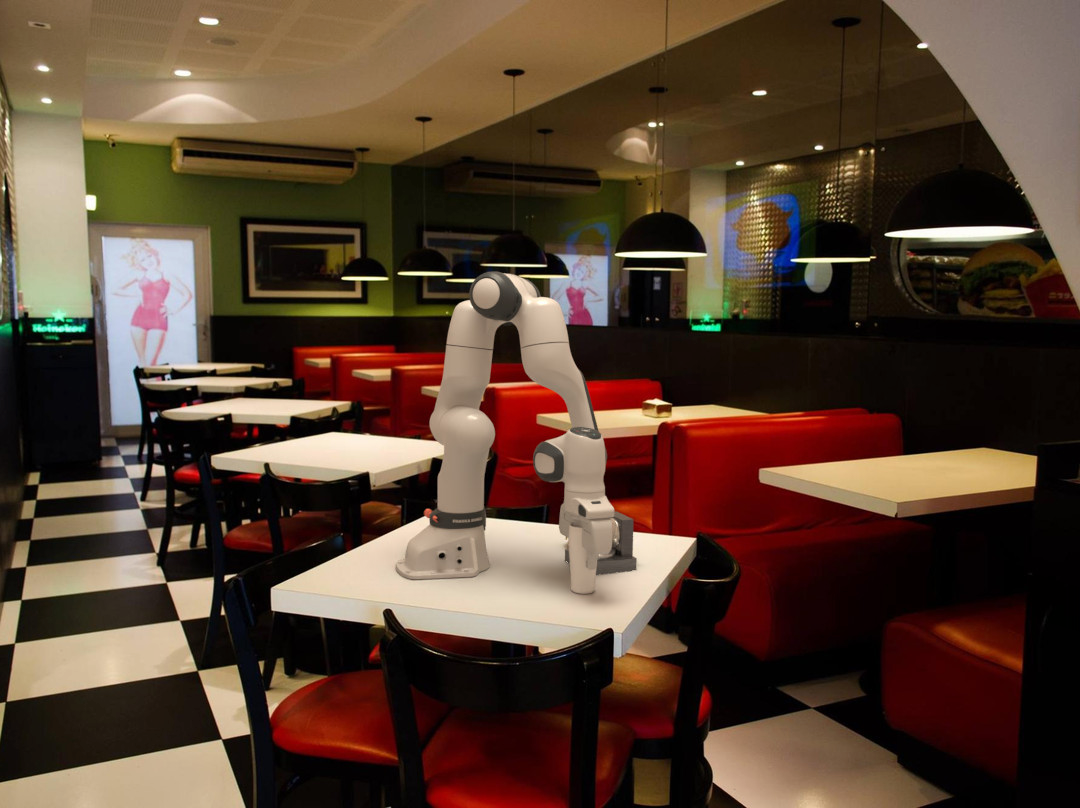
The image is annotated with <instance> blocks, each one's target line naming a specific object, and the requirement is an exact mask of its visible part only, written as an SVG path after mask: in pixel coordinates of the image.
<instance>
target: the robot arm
mask: <svg viewBox="0 0 1080 808" xmlns="http://www.w3.org/2000/svg"><path fill="white" fill-rule="evenodd" d="M468 294H469V295H468V296H469V299H467V300H464V301H461V302H459V303H458V304H457V305H456V306H455V308H454V310H453V312H452V316H451V320H450V323H449V327H448V331H447V337H446V345H445V353H444V354H445V355H444V363H443V371H442V372H443V373H442V380H441V383H440V387H439V390H438V394H437V398H436V400H435V401H436V402H435V406H434V408H433V409H434V410H433V412H432V413H431V415H430V418H429V429H430V432H431V434H432V436H433V438H434V439H435V441H437V442H438V444H440V445H441V446H443V457H442V463H441V467H440V471H439V472H438V475H437V508H435V509H433V510H432V509H431V508H426V509H425V510H424V511H423V515H424V517H426V518H427V519H429V524H428V525H427V526H426V527H425V528H423V529H422V530H421V531H420V532H418V534H416V535H415V536H414V537H412V538H411V539H410V540H409V541H408V543H407V545H406V550H405V554H404V559H403V558H402V559H399V560H397V561H396V563H395V570H396V572H397V573H398V574H399V576H401V577H403V578H406V579H409V580H429V579H431V580H432V579H447V578H448V579H451V578H473V577H476V576H478V575H479V573H481V572H483V571H485V570H488V569H490V567H491V561H490V559H489V554H488V549H487V545H486V535H485V531H486V526H487V514H486V508H485V505H484V504H485V473H486V468H487V464H488V458H489V451H490V448H491V447H492V445H493V444H494V441H495V437H496V430H495V427H494V423H493V422H492V421H491V419H490V418H489V416H488V415H486V414H485V412H483V411H481V410H480V406H481V404H482V403H481V402H482V399H483V396H484V393H485V391H486V389H487V387H488V386H489V384H490V379H491V371H492V370H491V369H492V361H493V360H492V359H493V351H494V342H495V335H496V331H497V329H498V328H499V327H501V325H502V326H503V327H509V326H513V325H514V326H515V327H516V329H517V331H518V335H519V336H518V337H519V345H520V354H521V362H522V365H523V366H522V367H523V369H524V372H525V374H526V375H527V376H528V378H529V379H531V381H533V382H535V383H536V384H538V385H540V386H541V387H544V388H547V389H549V390H551V391H553V392H554V393H556V394H557V395H559V396H560V397H561V398H562V399H563V400H564V403H565V405H566V408H567V409H566V410H567V412H568V416H569V420H570V424H571V428H569V429H568V430H567V431H566V433H564V434H563V435H560V436H558V437H554V438H551V439H547V440H545V441H541V442H540V443H539V444H538V445H536V448H535V449H534V452H533V457H532V463H533V464H532V465H533V469H534V471H535V473H536V475H537V476H538V477H539V478H540V479H541V480H542V481H544V482H549V483H558V482H563V483H564V489H563V490H564V494H563V495H564V497H563V499H564V500H563V503H562V504H561V505H560V510H559V511H560V512H559V520H558V521H559V522H558V524H559V525H558V528H559V529H558V530H559V533H560V534H561V535H562V536H564V537H565V538H566V537H567V539H568V532H569V524H570V523H571V522H573V524H572V526H574V527H579V528H583V529H582V547H584V548H585V549H587V550H588V554H589V556H588V560H586V568H588V569H589V570H594V569H596V561H597V559H598V556H599V555H602V554H608V553H609V552H610V550H611V548H612V537H613V524H612V520H611V518H610V517H614V511H615V508H614V506H613V505H612V504H611V502H610V501H609V499H608V497H607V495H606V486H605V482H604V476H605V472H606V465H607V461H608V460H607V459H608V453H607V448H606V446H605V441H604V437H603V435H602V433H601V432H600V430H599V427H598V423H597V419H596V416H595V415H596V414H595V412H594V407H593V404H592V400H591V395H590V392H589V389H588V384H587V381H586V379H585V377H584V374H583V372H582V371H581V370H580V369H579V368H578V367H577V365H576V363H575V361H574V358H573V356H572V355H573V354H572V352H571V348H570V341H569V334H568V329H567V323H566V321H565V317H564V313H563V311H562V308H561V305H560V303H558V301H556V300H555V299H554V298H551V297H546V296H545V297H544V296H541V293H540V291H539V288H538V287H537V286H536V285H535V284H534V283H533V282H532V281H530V280H529V279H526V278H523V277H521V276H518V275H516V274H513V273H505V272H504V273H503V272H500V271H486V272H484V273H482V274H480V275H479V276H477V277H476V278H475V279H474V280H473V282H472V283H471V286H470V288H469V293H468Z"/></svg>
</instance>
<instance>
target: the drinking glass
mask: <svg viewBox="0 0 1080 808" xmlns="http://www.w3.org/2000/svg"><path fill="white" fill-rule="evenodd" d="M572 524H573V522H571V523H570V524H569V532H568V538H567V540H568V541H567V545H568V544H569V546H568V549H569V559H570V564H569V571H570V572H569V573H570V590H571V591H572V592H573V593H576V594H579V595H588V594H592V593H594V591H595V590H596V579H597V578H596V576H597V575H596V569H594V570H589V569H588V568H586V560H588V556H589V554H588V550H587V549H585V548H584V547H582V529H583V528H579V527H574V526H572ZM596 568H597V561H596Z"/></svg>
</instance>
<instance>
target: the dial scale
mask: <svg viewBox="0 0 1080 808" xmlns="http://www.w3.org/2000/svg"><path fill="white" fill-rule="evenodd" d="M610 518H611V520H612V524H613V537H612V548H611V550H610V552H609V553H608V554H602V555H599V556H598V559H597V568H596V576H600V575H599V574H601V575H607V574H608V573H609V574H617V573H616V572H618V573H625V571H627V572H633V571H632V570H636V571H637V557H635V556H634V554H633V553H634V552H633V551H634V548H633V547H634V519H633V518H632V517H629V516H627V515H625V514H623V513H621V512H619V511H615V510H614V517H610ZM566 561H567V562H568V563H567V562H566ZM564 562H566V563H567V564H569V563H570V559H569V548H565V549H564Z"/></svg>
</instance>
